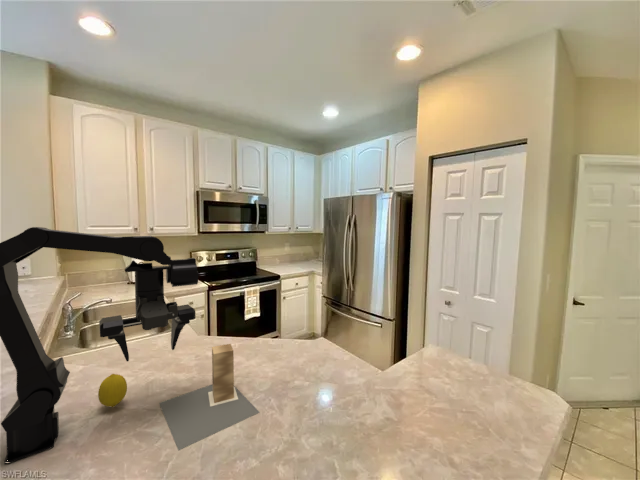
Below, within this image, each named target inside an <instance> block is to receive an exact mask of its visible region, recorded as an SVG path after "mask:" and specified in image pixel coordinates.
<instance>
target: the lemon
mask: <svg viewBox="0 0 640 480" xmlns="http://www.w3.org/2000/svg"><path fill="white" fill-rule="evenodd" d="M127 391H128V384H127V380H126V378H125V377H124V376H123V375H122V374H121V375H120V374H117V373H111V374H110V375H108V376H107V377H106V378H104V379H103V381H102V382H101V383H100V385H99V387H98V393H97V395H98V400H99V403H100V404H101V405H102V406H104V407H108V408H109V407H111V408H115V407H116V406H117V405H118V404H120V403H121V402H122V401H123V400H124V398H125V397H126V394H127Z"/></svg>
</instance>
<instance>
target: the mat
mask: <svg viewBox="0 0 640 480" xmlns="http://www.w3.org/2000/svg"><path fill="white" fill-rule="evenodd" d="M158 404H159V407H160V409H161V411H162V414H163V416H164V418H165V422H166V423H167V427H168V428H169V431H170V434H171V437H172V438H173V441H174V443H175V446H176V448H177V450H178V451H181V450H183V449H185V448H187V447H189V446H192V445H194V444H196V443H198V442H200V441H202V440H204V439H207V438H208V437H210V436H213V435H215V434H218V433H220V432H221V431H224V430H226V429H228V428H230V427H232V426H235V425H236V424H238V423H240V422H243V421H245V420H247V419H249V418H251V417H253V416H255V415H258V414H260V411H259V409H257V408H256V407H255V406H254V405H253V404H252V402H251V401H250V400H249V399H248V398H247V397H246V396H245V395H244V394H243V393H242V392H241V390H239V389H238V388H237V387H236V386H235V385H234V398H232V399H228V400H225V401H221V402H217V403H214V398H213V384H209V385H206V386H204V387H200V388H196V389H195V390H191V391H189V392H186V393H184V394H181V395H178V396H175V397H173V398H170V399H167V400H163V401H160V402H159V403H158Z"/></svg>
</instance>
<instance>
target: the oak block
mask: <svg viewBox="0 0 640 480" xmlns="http://www.w3.org/2000/svg"><path fill="white" fill-rule="evenodd" d="M234 357H235V355H234V349H233V346H232V343H227V344H222V345H217V346H211V371H212V375H211V376H212V379H211V381H212V384H213V398H214V403H217V402H221V401H225V400H228V399H232V398H234V386H235V378H234V377H235V376H234V375H235V371H234V370H235V367H234V363H235V362H234ZM212 384H211V385H212Z"/></svg>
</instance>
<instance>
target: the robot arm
mask: <svg viewBox="0 0 640 480" xmlns="http://www.w3.org/2000/svg"><path fill="white" fill-rule="evenodd" d="M43 248H46V249H60V250H71V251H83V252H97V253H109V254H115V255H119V256H122V257H127V258H130V259H133V260H131V262H130V263H129V265H128V266H126V267H125V268H124V272H125V273H133V272H134V293H135V294H134V296H135V298H134V301H135V302H134V305H135V316H133V317H127V318H123V317H122V315H121V314H119V315H113V316H107V317H102V318H101V319H100V320H99V321H98V325H99V329H98V330H99V337H100V338H107V339H108V340H114V341H116V343H117V344H118V346H119V347H120V350H121V352H122V354H123V357H124V359H125V361H126V362H129V361H130V354H129V350H128V345H127V339H126V333H125V330H124V329H125V328H130V327H136V326H141V327H142V330H144V331H150V330H151V331H152V329H157V328H166V327H168V325H169V320H171V330H170V331H171V333H170V347H171V350H172V351H174V350H175V349H176V345H177V344H178V340H179V337H180V334H181V332H182V331H183V328H184V327H185V326H186V325H189V324H190V321H193V320H194V321H195V319H197V318H196V317H197V316H196V315H197V314H196V309H195V308H193V307H192V306H191V305H189V303H188V304H183V305H178V303H177V301H172V302H167V303H166V301H165V292H164V291H165V287H164V282H165V281H164V270H165V280H166V284H170V285H171V288H174V287H175V288H176V287H186V286H196V285H198V283H199V271H198V266H197V258H195V257H189V258H181V259H171V256H170V255H167V253H166V252H165V250H164V249H165V248H164V244H163V241H162V240H160V238H158V237H156V236H151V235H137V236H136V235H135V236H134V235H133V236H132V235H131V236H111V235H102V234H94V233H84V232H75V231H68V230H59V229H51V228H47V227H43V226H32V227H29V228H26V229H25V230H24V231H22V232H21V233H19V234H17V235H15V236H13V237H10V238H8V239H6V240H3V241H1V242H0V339H1V341H2V343H3V345H4V347H5V349H6V351H7V353H8V355H9V358H10V360H11V362H12V364H13V366H14V368H15V371H16V385H15V387H16V388H15V389H16V396H17V400H16V401H14V404H13V405H12V406H11V408H10V410H9V411H8V413H7V414H6V416H5V417H4V419H2V421H1V423H0V425H1V427H2V428H3V430H4V432H5V433H6V434H5V439H6V455H5V458H4V461H3V462H11V463H13V462H16V461H19V460H21V459H24V458H27V457H30V456H33V455H35V454H38V453H41V452H43V451H46V450H49V449H52V448H54V447H55V442H56V439H57V438H59V432H60V422H59V421H60V419H59V417H60V416H59V411H55V405H56V404H57V403H58V402H59V400H60V399H61V397H62V395H63V392H64V390H65V388H66V385H67V383H68V377H69V376H70V374H71V372H70V371H69V369H67V368H66V367H65V366H66V365H65V362H64V357H60V358H57V359H56V360H54V359H52V358H51V357H50V356H49V355H48V354H47V353H46V350H45V348H44V347H43V344H42V342H41V339H40V338H39V337H40V336H39V335H38V333H37V331H36V328H35V327H34V324H33V322H32V320H31V316H30V314H29V313H28V311H27V309H26V307H25V304H24V301H23V299H22V297H21V296H20V293H19V271H18V265H17V264H18V263H20V262H22V261H23V260H25V259H27V258H28V257H30V256H32V255H33V254H35V253H36V252H38V251H40V250H41V249H43ZM134 259H135V260H139V261H144V262H145V263H144V262H142V263H137V261H135V260H134ZM153 262H155V263H157V264H160V266H159V265H157V266H153ZM7 460H8V461H7Z"/></svg>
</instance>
